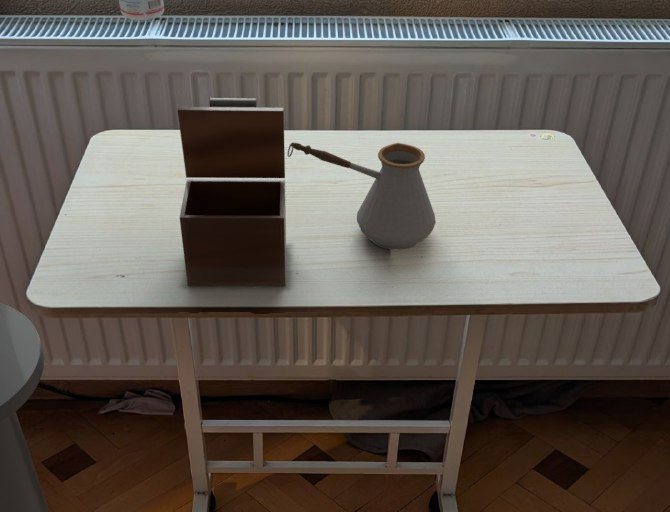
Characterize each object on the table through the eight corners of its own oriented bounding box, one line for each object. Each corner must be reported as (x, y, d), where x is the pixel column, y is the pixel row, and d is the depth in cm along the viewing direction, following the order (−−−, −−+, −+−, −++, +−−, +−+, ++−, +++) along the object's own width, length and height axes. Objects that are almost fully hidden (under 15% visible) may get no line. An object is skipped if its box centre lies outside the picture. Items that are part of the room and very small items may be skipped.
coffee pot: (426, 213, 127) (436, 119, 117) (440, 256, 119) (453, 159, 108) (286, 217, 125) (284, 123, 115) (291, 261, 117) (289, 163, 106)
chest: (285, 286, 113) (284, 217, 105) (187, 286, 112) (179, 217, 105) (286, 246, 120) (285, 179, 112) (193, 246, 119) (186, 179, 112)
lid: (283, 111, 104) (283, 88, 107) (177, 109, 103) (181, 87, 107) (285, 178, 112) (285, 155, 115) (186, 177, 111) (189, 154, 115)
